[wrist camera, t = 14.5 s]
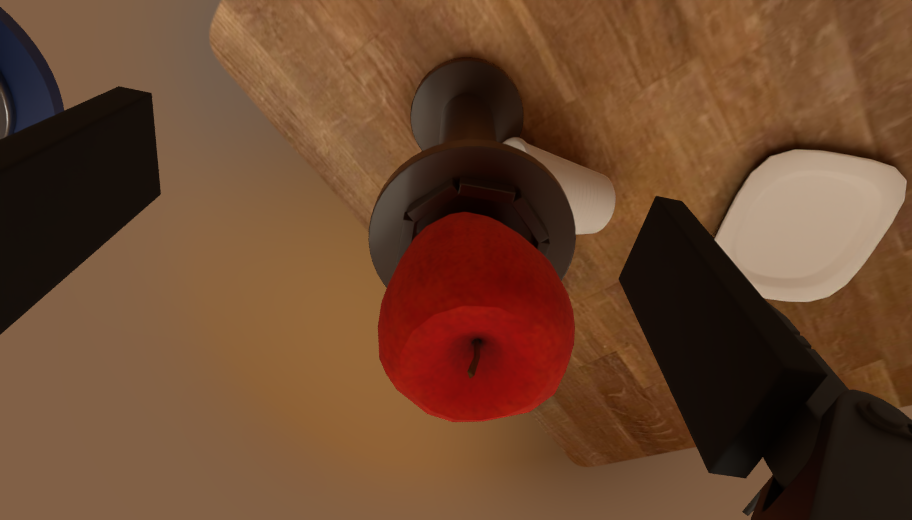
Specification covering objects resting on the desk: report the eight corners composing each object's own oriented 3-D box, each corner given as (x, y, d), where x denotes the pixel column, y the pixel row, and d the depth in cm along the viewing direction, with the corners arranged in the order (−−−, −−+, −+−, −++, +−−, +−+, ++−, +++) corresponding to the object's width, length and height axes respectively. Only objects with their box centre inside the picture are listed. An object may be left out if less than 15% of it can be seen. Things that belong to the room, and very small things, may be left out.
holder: (399, 160, 55) (357, 321, 32) (415, 40, 49) (377, 133, 26) (510, 180, 56) (546, 349, 33) (540, 65, 50) (609, 175, 27)
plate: (757, 135, 54) (765, 140, 52) (918, 164, 55) (931, 170, 54) (686, 280, 63) (691, 288, 62) (825, 301, 64) (834, 310, 63)
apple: (574, 205, 29) (627, 331, 20) (512, 322, 34) (532, 469, 24) (422, 153, 28) (403, 262, 18) (377, 282, 32) (344, 423, 23)
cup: (559, 202, 61) (473, 189, 56) (608, 135, 54) (514, 114, 49) (587, 271, 55) (494, 262, 51) (646, 206, 48) (544, 189, 44)
